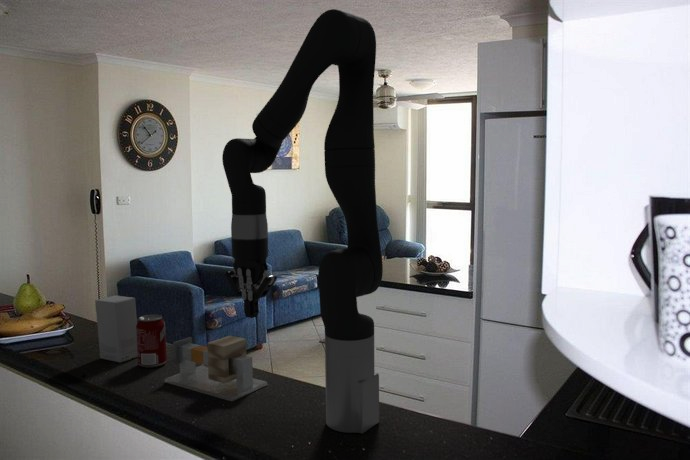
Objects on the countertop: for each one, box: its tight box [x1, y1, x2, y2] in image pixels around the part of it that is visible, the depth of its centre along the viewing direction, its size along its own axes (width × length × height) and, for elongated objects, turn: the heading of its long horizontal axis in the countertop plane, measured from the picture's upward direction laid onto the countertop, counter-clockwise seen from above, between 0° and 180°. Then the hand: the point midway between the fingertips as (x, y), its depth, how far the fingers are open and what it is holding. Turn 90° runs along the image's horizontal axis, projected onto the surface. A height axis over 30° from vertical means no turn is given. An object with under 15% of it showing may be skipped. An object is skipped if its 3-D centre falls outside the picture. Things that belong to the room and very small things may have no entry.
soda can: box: [136, 314, 168, 369], centre depth 147 cm, size 7×7×12 cm
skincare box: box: [94, 294, 138, 363], centre depth 152 cm, size 8×7×16 cm
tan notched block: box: [206, 335, 247, 383], centre depth 131 cm, size 5×7×8 cm
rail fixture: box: [164, 336, 268, 402], centre depth 134 cm, size 21×11×8 cm, turn 56°
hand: (251, 316), depth 126 cm, fingers closed
